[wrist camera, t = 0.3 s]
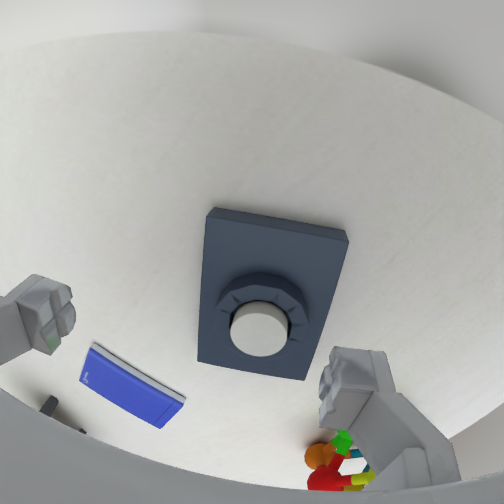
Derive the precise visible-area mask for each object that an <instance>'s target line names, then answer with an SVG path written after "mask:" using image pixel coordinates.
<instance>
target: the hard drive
mask: <svg viewBox="0 0 504 504" xmlns="http://www.w3.org/2000/svg"><path fill="white" fill-rule="evenodd" d="M79 381H80V382H82V383H83V384H84V385H86V386H87V387H89V388H90V389H92V390H94V391H95V392H97V393H98V394H100V395H101V396H103V397H104V398H106V399H108V400H109V401H111V402H113V403H114V404H116V405H118V406H119V407H121V408H123V409H124V410H126V411H128V412H129V413H131V414H133V415H135V416H136V417H138V418H140V419H142V420H144V421H146V422H148V423H149V424H151V425H153V426H155V427H157V428H159V429H161V428H162V427H163V426H164V425H165V424H166V423H167V422H168V421H169V420H170V419H171V418H172V417H173V416H174V415H175V414H176V413H177V412H178V411H179V410H180V409H181V408H182V407H183V405H184V402H185V400H186V398H184V397H182V396H180V395H178V394H177V393H175V392H173V391H171V390H170V389H168V388H166V387H164V386H162V385H161V384H159V383H157V382H155V381H154V380H152V379H150V378H149V377H147V376H145V375H144V374H142V373H140V372H139V371H137V370H135V369H134V368H132V367H130V366H129V365H127V364H126V363H124V362H122V361H121V360H119V359H118V358H116V357H115V356H113V355H112V354H110V353H109V352H107V351H106V350H104V349H103V348H101V347H100V346H98V345H97V344H95V343H93V344H92V346H91V347H90V349H89V351H88V354H87V357H86V360H85V363H84V366H83V369H82V372H81V376H80V379H79Z"/></svg>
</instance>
